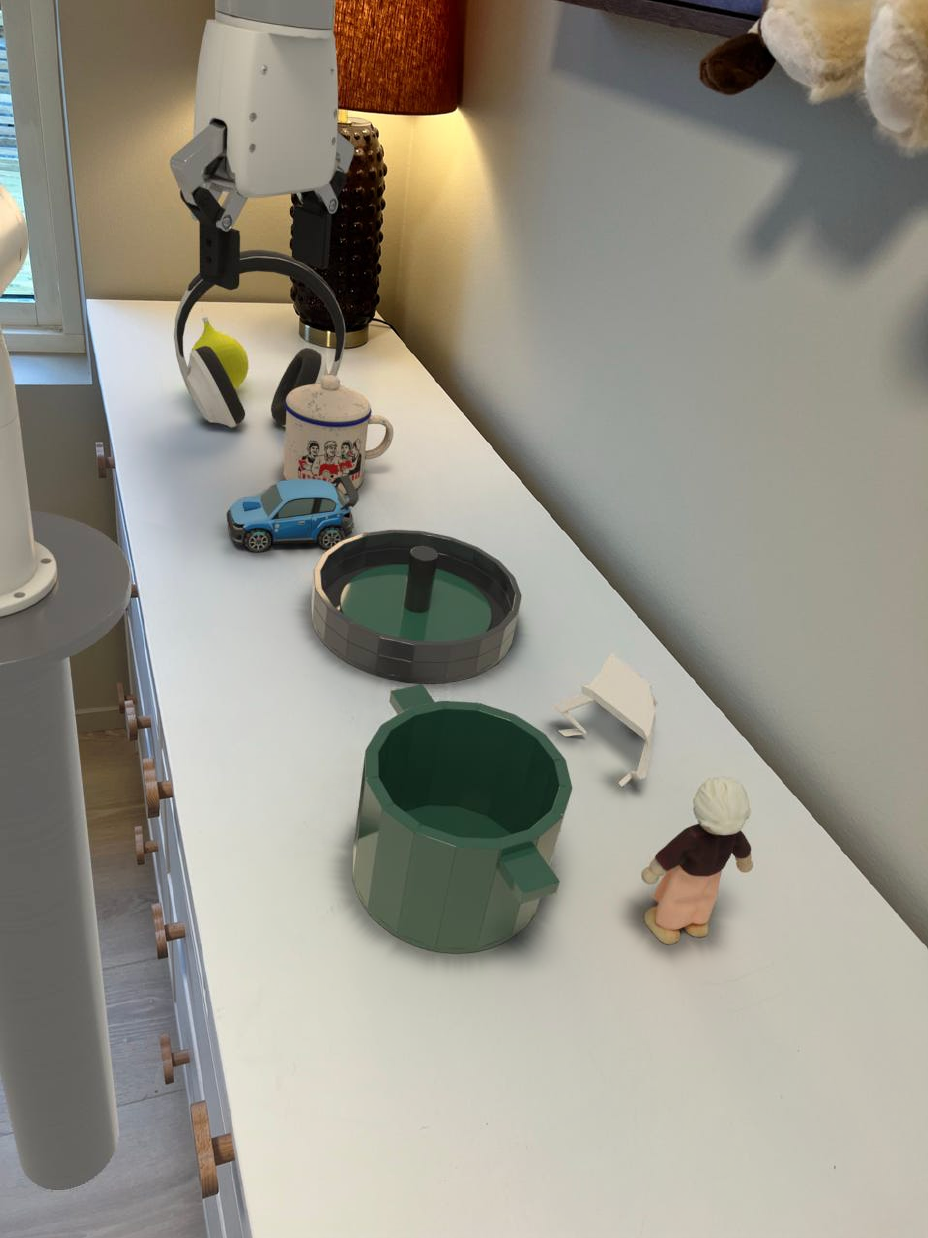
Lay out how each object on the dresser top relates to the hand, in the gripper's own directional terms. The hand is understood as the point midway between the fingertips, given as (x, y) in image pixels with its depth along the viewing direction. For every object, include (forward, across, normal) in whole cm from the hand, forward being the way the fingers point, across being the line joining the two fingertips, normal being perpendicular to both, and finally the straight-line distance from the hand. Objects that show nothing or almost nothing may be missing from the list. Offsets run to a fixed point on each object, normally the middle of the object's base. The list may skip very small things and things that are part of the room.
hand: (266, 273), depth 72 cm
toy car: (+28, -9, -4) cm, 30 cm away
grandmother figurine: (+28, +10, +45) cm, 54 cm away
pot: (+28, +16, +31) cm, 45 cm away
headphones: (+28, -26, -24) cm, 46 cm away
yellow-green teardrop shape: (+28, -30, -34) cm, 53 cm away
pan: (+28, -6, +13) cm, 32 cm away
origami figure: (+28, -3, +34) cm, 45 cm away
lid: (+27, -6, +13) cm, 31 cm away
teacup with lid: (+28, -22, -9) cm, 37 cm away
